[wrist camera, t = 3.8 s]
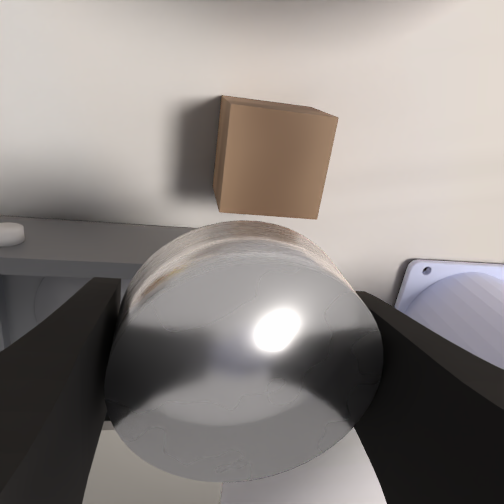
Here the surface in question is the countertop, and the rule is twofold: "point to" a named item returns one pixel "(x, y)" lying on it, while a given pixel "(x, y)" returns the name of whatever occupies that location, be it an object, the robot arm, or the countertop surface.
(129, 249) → the tray
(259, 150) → the brown cube
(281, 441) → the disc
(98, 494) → the block
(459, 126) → the countertop surface
